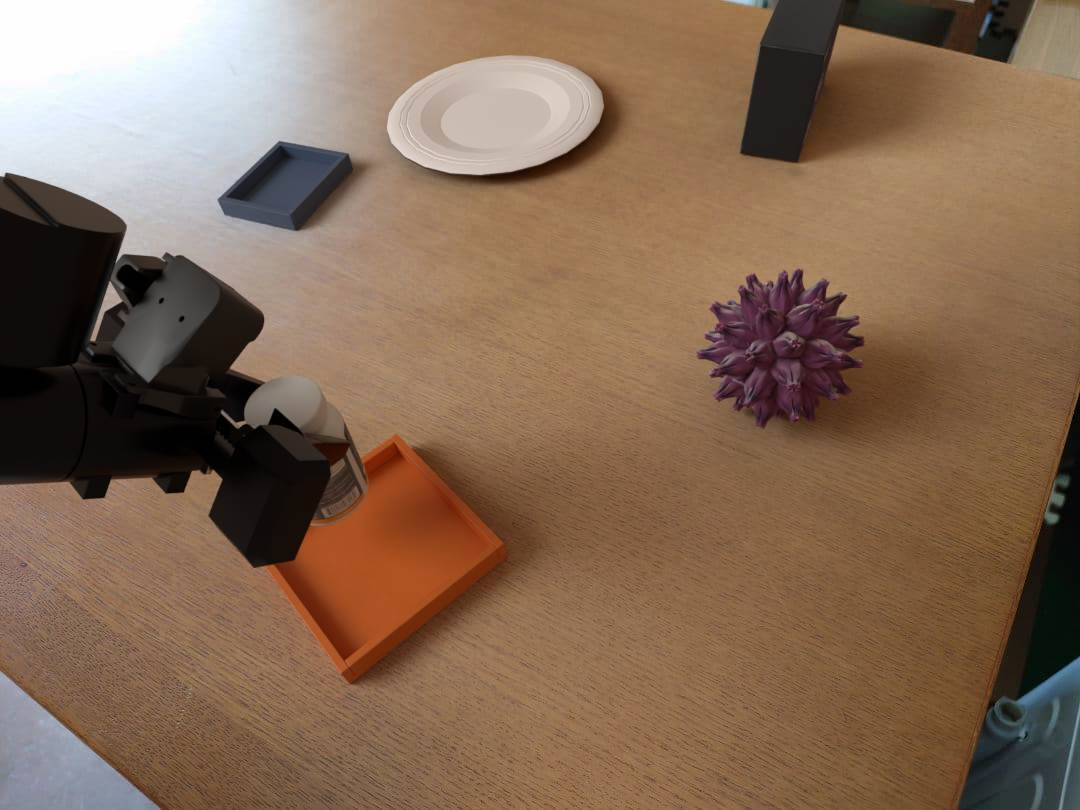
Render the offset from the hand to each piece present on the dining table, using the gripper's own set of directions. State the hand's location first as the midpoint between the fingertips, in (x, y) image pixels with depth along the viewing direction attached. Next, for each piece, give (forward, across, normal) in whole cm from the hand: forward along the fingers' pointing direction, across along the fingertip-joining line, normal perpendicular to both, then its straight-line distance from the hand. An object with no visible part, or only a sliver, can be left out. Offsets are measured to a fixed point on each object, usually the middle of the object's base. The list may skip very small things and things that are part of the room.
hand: (318, 424), depth 49 cm
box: (+52, +4, -37) cm, 64 cm away
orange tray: (+7, -3, +9) cm, 12 cm away
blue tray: (+22, +39, -7) cm, 46 cm away
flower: (+28, -16, -12) cm, 35 cm away
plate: (+38, +30, -23) cm, 54 cm away
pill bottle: (+4, 0, +6) cm, 7 cm away
